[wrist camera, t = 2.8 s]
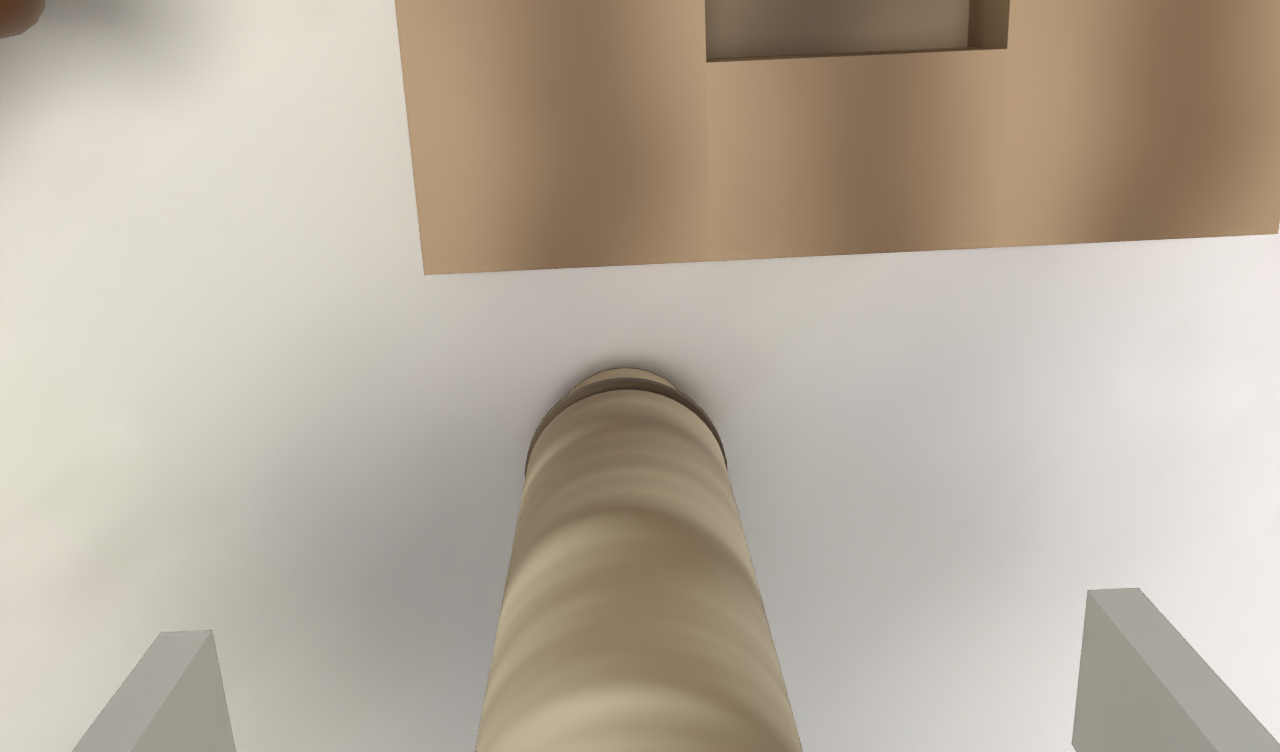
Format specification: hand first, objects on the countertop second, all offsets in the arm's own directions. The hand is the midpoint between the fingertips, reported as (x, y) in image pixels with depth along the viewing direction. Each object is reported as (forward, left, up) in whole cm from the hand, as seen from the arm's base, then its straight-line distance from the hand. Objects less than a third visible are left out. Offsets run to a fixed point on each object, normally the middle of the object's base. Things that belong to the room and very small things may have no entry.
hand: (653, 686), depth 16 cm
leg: (0, 0, -11) cm, 11 cm away
